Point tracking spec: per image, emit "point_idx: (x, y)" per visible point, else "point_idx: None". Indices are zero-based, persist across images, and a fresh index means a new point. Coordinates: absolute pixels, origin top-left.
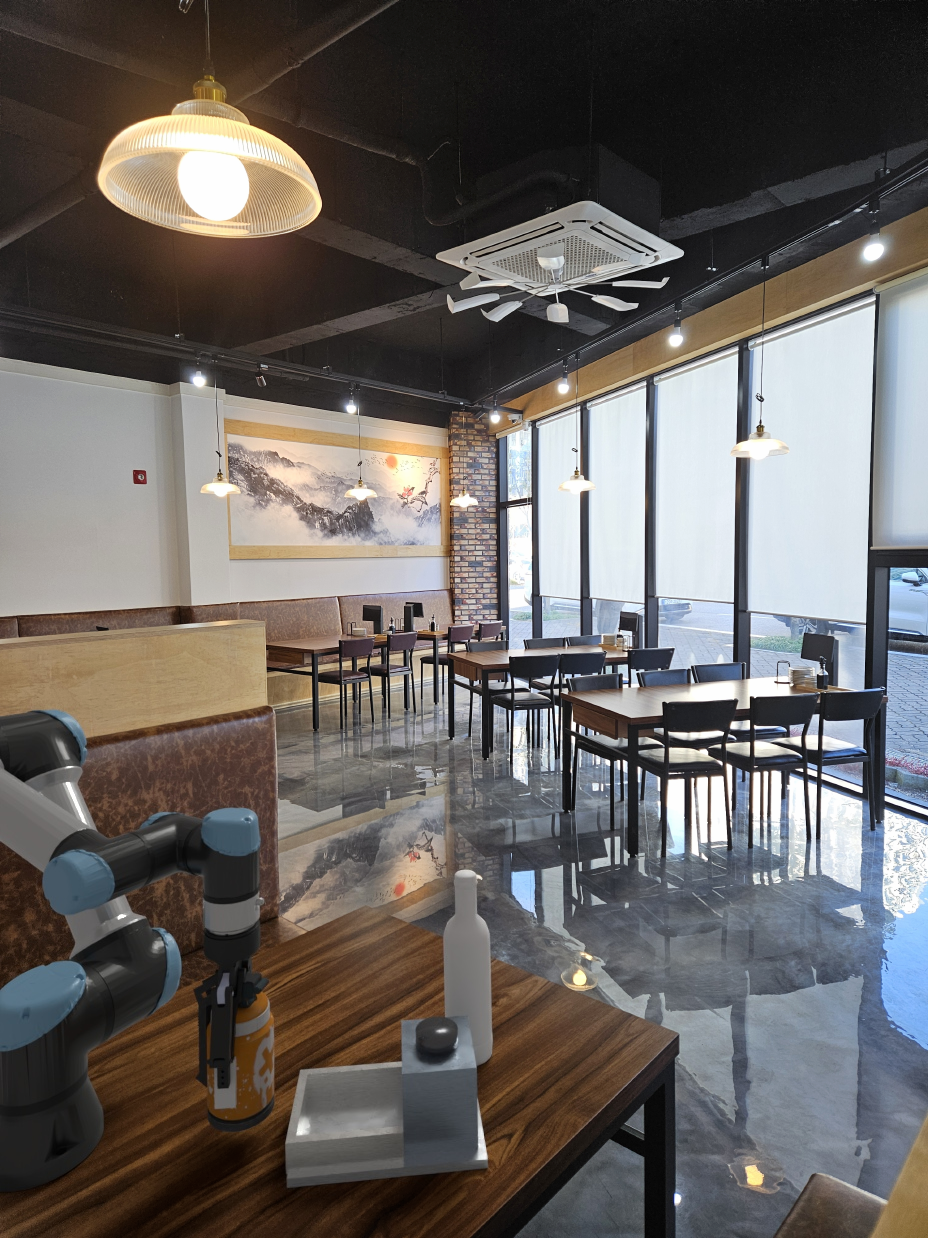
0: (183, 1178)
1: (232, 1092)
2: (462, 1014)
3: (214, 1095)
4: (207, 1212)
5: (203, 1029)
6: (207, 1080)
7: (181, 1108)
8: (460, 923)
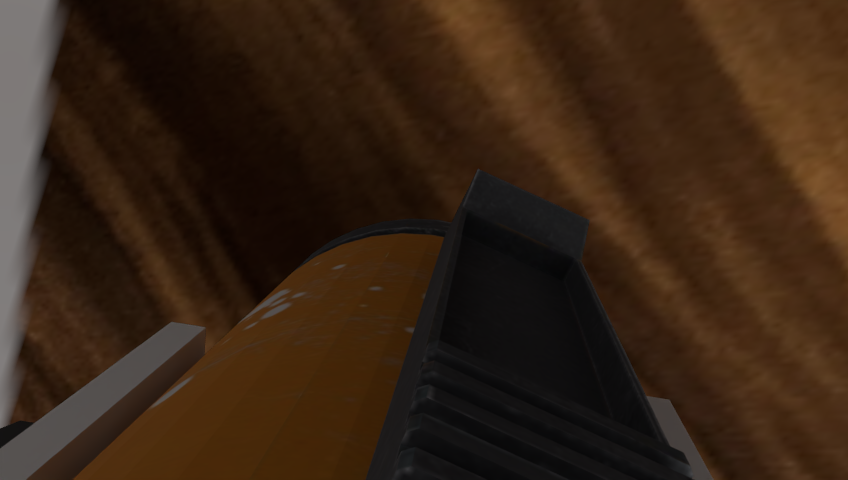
0: (267, 115)
1: None
2: None
3: (126, 356)
4: (91, 229)
5: (393, 409)
6: (317, 288)
7: (722, 29)
8: None
